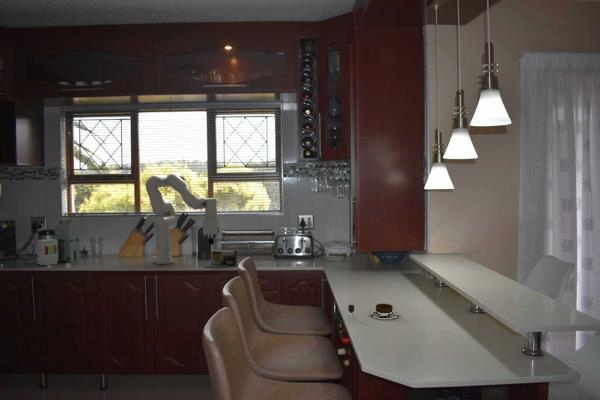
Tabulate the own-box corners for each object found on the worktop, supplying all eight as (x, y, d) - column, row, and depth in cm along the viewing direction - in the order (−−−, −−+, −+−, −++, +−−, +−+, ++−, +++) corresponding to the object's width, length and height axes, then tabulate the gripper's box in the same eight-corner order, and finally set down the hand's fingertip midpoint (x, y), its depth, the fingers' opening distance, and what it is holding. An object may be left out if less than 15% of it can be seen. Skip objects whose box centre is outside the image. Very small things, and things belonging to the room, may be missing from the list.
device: (55, 260, 337) (54, 218, 335) (65, 259, 344) (64, 217, 342) (70, 262, 329) (68, 219, 327) (80, 260, 335) (78, 218, 334)
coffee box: (213, 262, 320) (236, 263, 318) (210, 264, 313) (234, 265, 312) (213, 249, 319) (236, 250, 318) (210, 251, 313) (234, 251, 311)
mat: (203, 267, 308) (203, 266, 307) (215, 262, 324) (215, 261, 324) (221, 268, 304) (221, 267, 304) (232, 263, 321) (232, 262, 321)
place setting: (396, 324, 191) (396, 310, 190) (347, 320, 197) (347, 306, 196) (400, 312, 208) (400, 299, 207) (354, 309, 213) (354, 296, 213)
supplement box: (43, 266, 317) (42, 241, 316) (37, 264, 323) (36, 239, 322) (58, 263, 325) (57, 239, 324) (51, 262, 330) (50, 238, 329)
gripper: (198, 217, 312) (198, 244, 313) (219, 217, 308) (219, 245, 310) (203, 216, 320) (203, 243, 321) (223, 216, 316) (224, 244, 317)
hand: (211, 244), depth 315 cm, fingers closed
